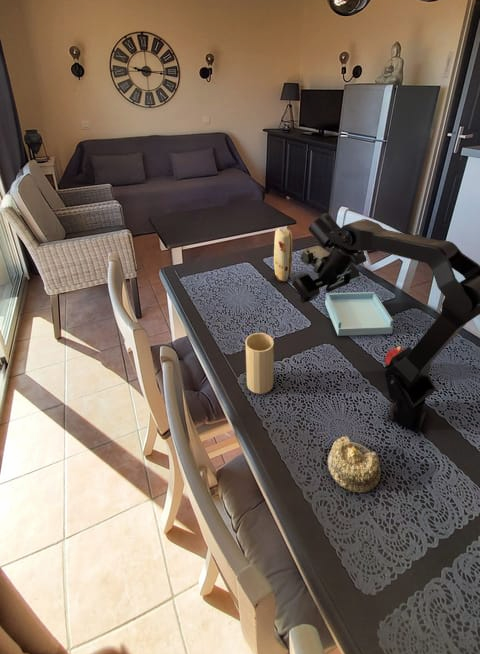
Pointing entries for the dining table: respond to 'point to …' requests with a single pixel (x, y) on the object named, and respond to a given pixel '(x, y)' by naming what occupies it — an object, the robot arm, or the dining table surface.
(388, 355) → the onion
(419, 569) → the dining table surface
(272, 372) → the cup
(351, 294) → the shallow mint tray
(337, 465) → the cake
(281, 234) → the food model
